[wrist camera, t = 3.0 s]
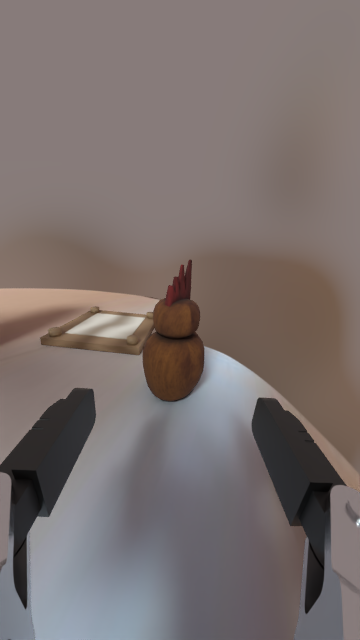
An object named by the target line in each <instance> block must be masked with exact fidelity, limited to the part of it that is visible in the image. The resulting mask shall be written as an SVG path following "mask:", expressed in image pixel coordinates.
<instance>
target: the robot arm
mask: <svg viewBox="0 0 360 640" xmlns="http://www.w3.org/2000/svg"><path fill="white" fill-rule="evenodd" d="M95 418H96V411H95V401H94V392H93V389H87V388H75V389H73V390H72V392H71V393H70V394H69V395H68V397H67V398H66V399H60V400H59V401H57V402H56V403H54V404H53V405H52V406H50V407H49V408H48V409H47V410H46V411H45V413H44V414H43V415H42V416H41V417H40V419H39V420H38V421H37V422H36V423H35V424H34V426H33V427H32V429H31V430H29V432H28V433H27V434H26V435H25V436H24V437H23V439H22V440H21V441H20V442H19V443H18V445H17V446H16V447H15V448H14V449H13V451H12V452H11V453H10V454H9V455H8V456H7V458H6V459H5V460H4V461H3V462H2V464H1V465H0V640H35V633H34V627H33V621H32V611H31V573H30V533H29V530H30V528H31V527H32V525H33V523H34V521H35V519H36V517H37V516H39V517H49V516H50V514H51V512H52V510H53V508H54V505H55V503H56V501H57V499H58V497H59V495H60V493H61V491H62V489H63V487H64V485H65V483H66V481H67V479H68V477H69V475H70V473H71V471H72V469H73V467H74V465H75V463H76V461H77V459H78V457H79V455H80V453H81V451H82V449H83V447H84V444H85V442H86V440H87V438H88V436H89V434H90V432H91V430H92V428H93V426H94V423H95ZM252 432H253V435H254V438H255V440H256V443H257V445H258V448H259V450H260V453H261V455H262V458H263V460H264V462H265V465H266V467H267V470H268V472H269V475H270V477H271V480H272V482H273V484H274V487H275V489H276V492H277V494H278V497H279V499H280V502H281V504H282V506H283V509H284V511H285V514H286V516H287V519H288V521H289V524H290V526H303V528H304V531H305V533H306V535H307V537H306V539H305V548H304V561H303V573H302V586H301V599H300V611H299V618H298V624H297V627H296V631H295V635H294V639H293V640H360V492H358V491H357V490H355V489H353V488H350V487H348V486H346V484H345V483H344V482H343V480H342V479H341V478H340V476H339V475H338V473H337V472H336V471H335V469H334V468H333V466H332V465H331V464H330V462H329V461H328V460H327V458H326V457H325V455H324V454H323V453H322V451H321V450H320V448H319V447H318V446H317V444H316V443H314V440H313V439H312V437H311V436H310V435H309V433H307V430H306V429H305V428H304V426H303V425H302V423H301V422H300V421H299V420H298V419H297V418H296V417H295V416H294V415H293V414H291V413H290V412H289V411H284V409H283V408H282V406H281V405H280V403H279V402H278V400H277V399H274V398H259V399H258V400H257V404H256V407H255V411H254V415H253V419H252Z"/></svg>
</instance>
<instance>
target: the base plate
mask: <svg viewBox="0 0 360 640" xmlns="http://www.w3.org/2000/svg"><path fill="white" fill-rule="evenodd" d="M153 329H154V323H153V312H147V315H143V314H133V313H122V312H112V311H102V310H99V307H91V311H89V312H87V313H85V314H83V315H81V316H80V317H78V318H76V319H74V320H72V321H70V322H68V323H67V324H65V325H63V326H61V327H55V328H50V329H49V330H48V331H49V333H48V334H46V335H45V336H43V337H41V338H40V339H41V344H42V345H50V346H59V347H69V348H78V349H87V350H97V351H106V352H115V353H125V354H134V355H139V354H140V352H141V351H142V349H143V347H144V345H145V342H146V341H147V340H148V338H149V336H150V335H151V333H152V331H153Z"/></svg>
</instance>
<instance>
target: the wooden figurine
mask: <svg viewBox="0 0 360 640" xmlns="http://www.w3.org/2000/svg"><path fill="white" fill-rule="evenodd" d="M191 269H192V260H189V262H188V266H187V269H186V273H185V276H184V265H181V267H180V272H179V277H174V280H173V286H170V285H169V286H168V290H167V295H166V298H164V299H162V300H160V301H159V302H158V303H157V304H156V305H155V308H154V311H153V323H154V327H155V330H156V331H157V332H155V333H153V334H152V335H151V336H150V337H149V339H148V340H147V341H146V342H145V345H144V349H143V367H144V373H145V377H146V380H147V384H148V387H149V388H150V390H151V392H152V393H153V394H154V395H155V396H156V397H158V398H159V399H161V400H166V401H173V400H178V399H181V398H184V397H185V396H187V395H188V394H189V393H190V392H191V391H192V390H193V388H194V387H195V386H196V384H197V383H198V381H199V379H200V377H201V374H202V372H203V366H204V346H203V342H202V341H201V339H200V338H199V336H198V335H197V334H196V332H195V331H196V330H197V329H198V326H199V321H200V310H199V307H198V305H197V304H196V303H195V302H194V301H192V300H190V291H191Z"/></svg>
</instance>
